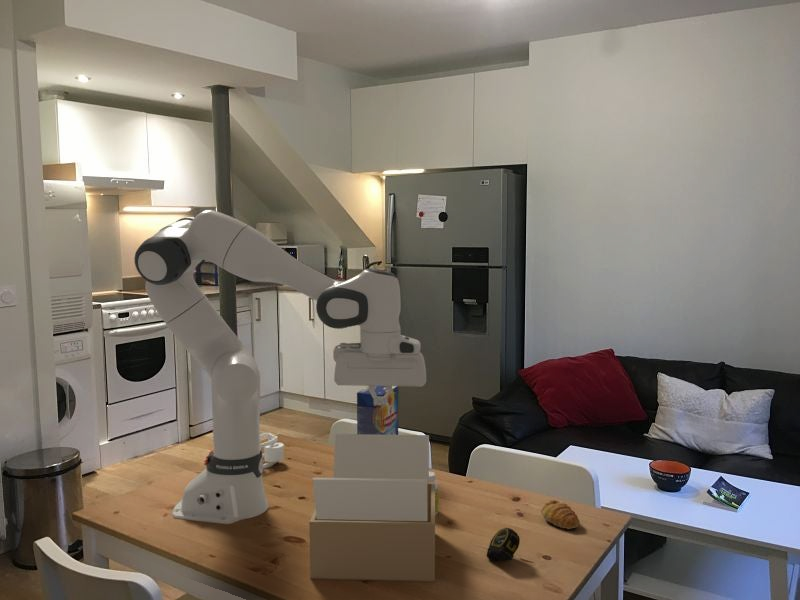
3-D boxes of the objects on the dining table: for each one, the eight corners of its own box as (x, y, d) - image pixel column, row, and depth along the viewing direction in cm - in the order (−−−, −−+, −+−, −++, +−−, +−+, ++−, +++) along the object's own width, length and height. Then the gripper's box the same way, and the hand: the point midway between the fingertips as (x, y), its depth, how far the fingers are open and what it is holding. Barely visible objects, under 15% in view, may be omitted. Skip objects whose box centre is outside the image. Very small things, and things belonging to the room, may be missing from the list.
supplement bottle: (436, 518, 161) (436, 478, 160) (413, 516, 162) (413, 476, 161) (439, 509, 167) (439, 470, 166) (417, 507, 168) (417, 469, 167)
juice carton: (382, 481, 185) (382, 395, 183) (357, 478, 188) (356, 392, 186) (398, 467, 196) (398, 385, 194) (374, 464, 199) (374, 383, 197)
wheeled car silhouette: (241, 481, 186) (241, 455, 185) (214, 474, 192) (213, 448, 191) (291, 461, 203) (291, 437, 202) (264, 455, 209) (264, 431, 208)
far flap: (428, 481, 151) (428, 481, 151) (429, 435, 154) (429, 435, 154) (333, 479, 152) (333, 479, 152) (335, 434, 155) (335, 434, 155)
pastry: (586, 528, 155) (588, 512, 155) (563, 533, 152) (564, 516, 152) (559, 512, 164) (560, 497, 163) (537, 516, 160) (538, 501, 160)
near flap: (317, 517, 131) (316, 519, 131) (313, 477, 127) (312, 479, 126) (427, 519, 130) (427, 521, 130) (427, 479, 126) (427, 481, 125)
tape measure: (495, 566, 140) (481, 554, 140) (510, 537, 144) (497, 526, 144) (513, 565, 135) (499, 553, 134) (528, 536, 138) (515, 524, 138)
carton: (310, 581, 132) (309, 521, 131) (328, 532, 154) (327, 480, 153) (434, 584, 131) (434, 524, 129) (435, 534, 152) (435, 482, 151)
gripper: (331, 345, 147) (331, 408, 148) (426, 346, 146) (425, 409, 147) (335, 340, 153) (335, 401, 154) (426, 341, 152) (426, 402, 153)
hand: (380, 405), depth 151 cm, fingers closed
